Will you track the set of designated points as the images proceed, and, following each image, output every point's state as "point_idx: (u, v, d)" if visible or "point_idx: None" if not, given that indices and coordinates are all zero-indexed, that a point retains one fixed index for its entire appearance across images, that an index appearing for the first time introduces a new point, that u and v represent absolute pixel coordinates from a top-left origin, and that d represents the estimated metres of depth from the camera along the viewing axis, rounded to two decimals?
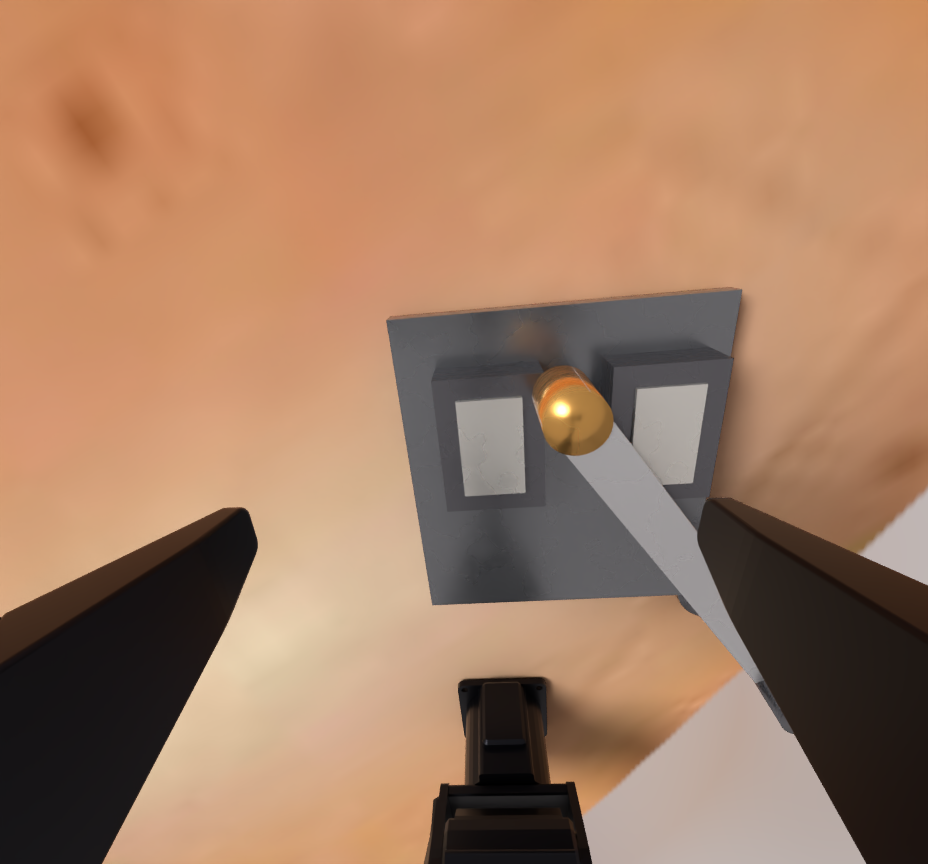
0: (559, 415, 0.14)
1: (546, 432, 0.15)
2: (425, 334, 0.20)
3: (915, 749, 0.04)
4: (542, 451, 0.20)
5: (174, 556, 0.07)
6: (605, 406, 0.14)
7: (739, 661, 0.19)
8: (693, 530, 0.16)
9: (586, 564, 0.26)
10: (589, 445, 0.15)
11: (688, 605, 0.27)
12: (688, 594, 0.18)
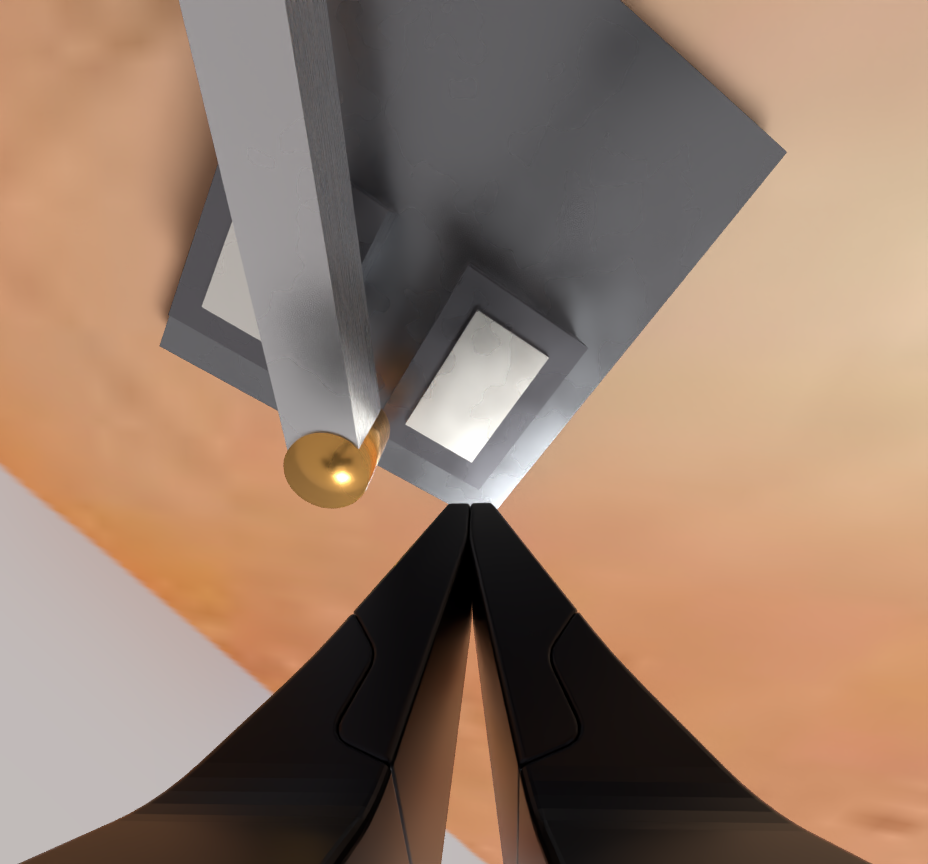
0: (340, 493, 0.12)
1: (363, 485, 0.12)
2: (463, 495, 0.20)
3: (498, 746, 0.05)
4: (423, 347, 0.15)
5: (458, 552, 0.06)
6: (288, 473, 0.12)
7: None
8: (233, 214, 0.09)
9: (497, 44, 0.13)
10: (326, 441, 0.12)
11: None
12: (280, 43, 0.08)
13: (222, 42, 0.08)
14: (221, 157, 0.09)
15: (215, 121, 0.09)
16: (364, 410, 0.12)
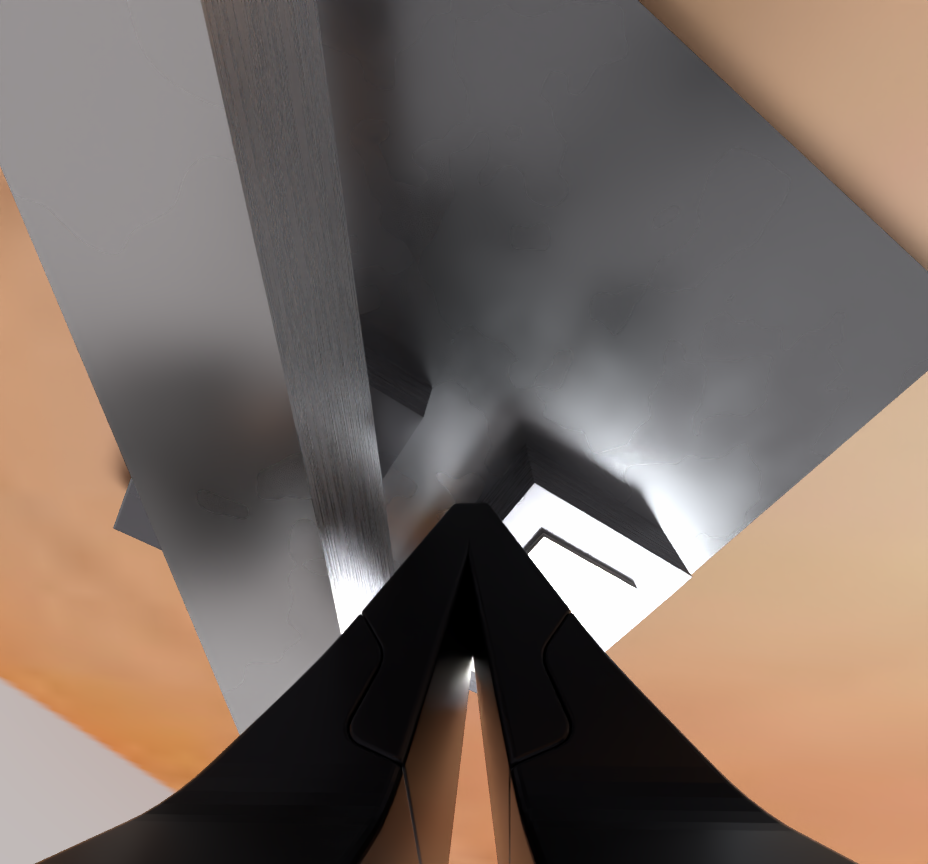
0: None
1: None
2: None
3: (492, 746, 0.05)
4: None
5: (464, 552, 0.06)
6: None
7: None
8: (177, 573, 0.05)
9: (584, 181, 0.09)
10: None
11: None
12: (255, 344, 0.04)
13: (139, 339, 0.04)
14: (150, 502, 0.05)
15: (134, 456, 0.05)
16: None
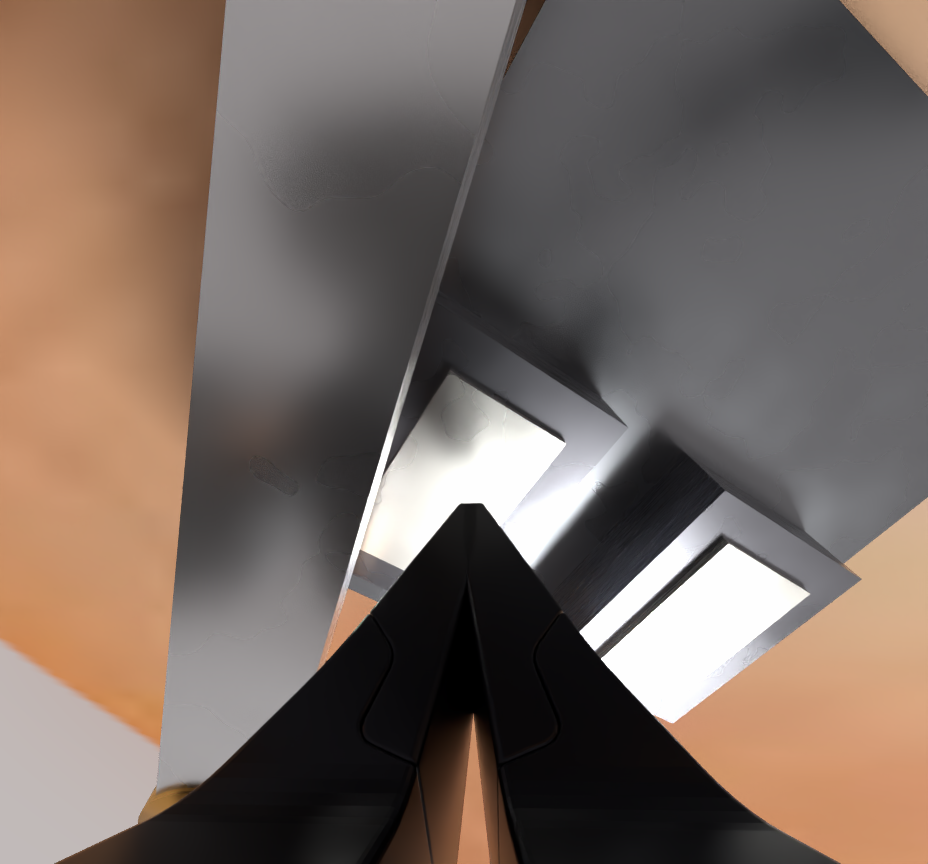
0: None
1: None
2: None
3: (482, 745, 0.05)
4: (639, 580, 0.11)
5: (471, 552, 0.06)
6: None
7: None
8: (185, 526, 0.05)
9: (783, 196, 0.09)
10: None
11: None
12: (390, 344, 0.04)
13: (274, 295, 0.04)
14: (196, 449, 0.05)
15: (206, 402, 0.04)
16: None
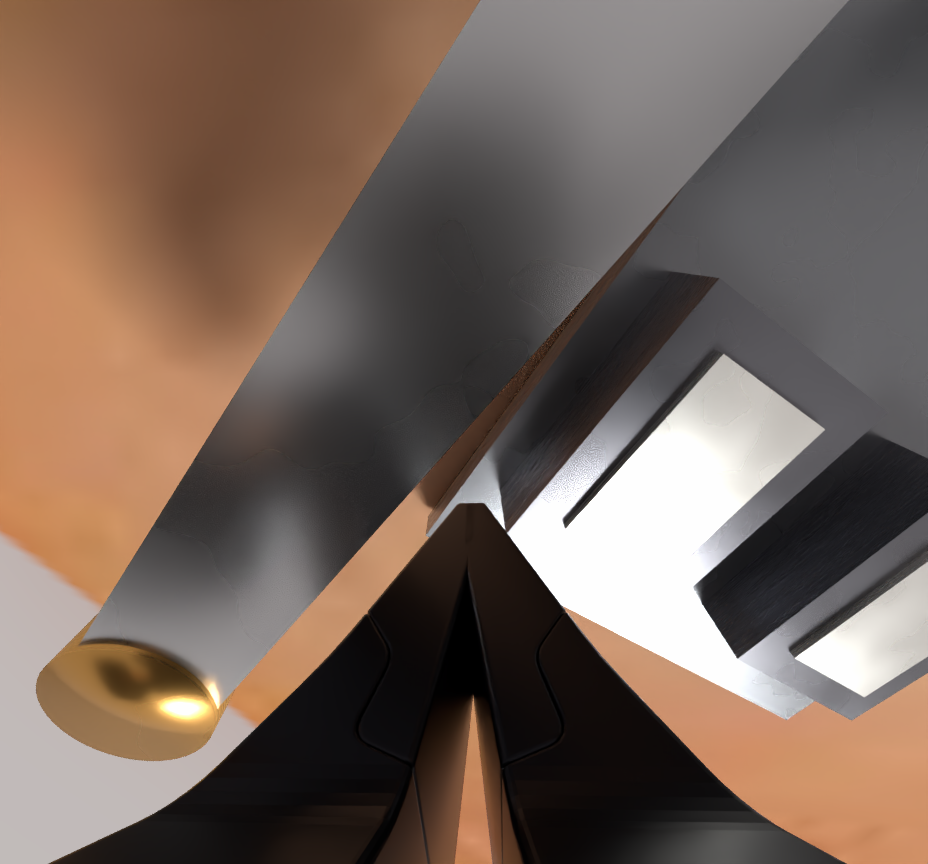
0: (128, 741, 0.06)
1: (181, 751, 0.06)
2: (771, 691, 0.16)
3: (485, 745, 0.05)
4: (857, 572, 0.11)
5: (469, 552, 0.06)
6: (49, 675, 0.06)
7: None
8: (312, 286, 0.04)
9: None
10: (169, 672, 0.06)
11: None
12: (694, 132, 0.03)
13: None
14: (384, 180, 0.03)
15: (438, 113, 0.03)
16: None
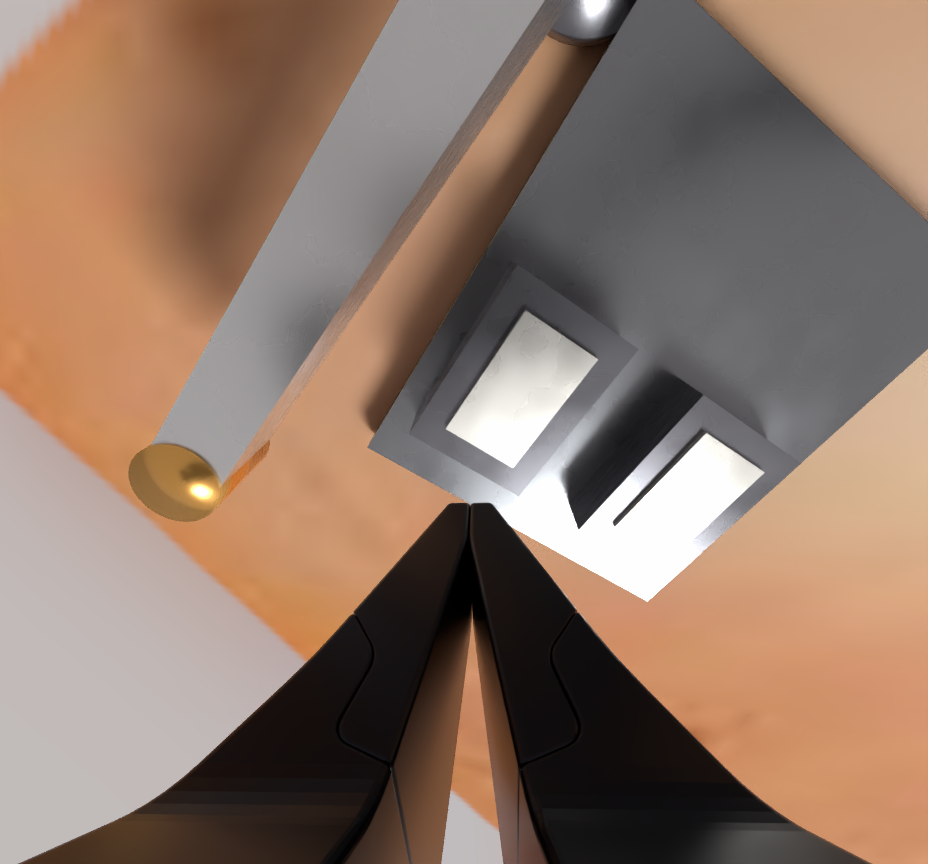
0: (173, 507, 0.12)
1: (200, 515, 0.12)
2: (632, 576, 0.21)
3: (498, 746, 0.05)
4: (645, 462, 0.16)
5: (458, 552, 0.06)
6: (136, 462, 0.11)
7: None
8: (257, 262, 0.09)
9: (743, 197, 0.14)
10: (195, 463, 0.11)
11: None
12: (396, 203, 0.09)
13: (352, 158, 0.08)
14: (282, 220, 0.09)
15: (299, 197, 0.09)
16: (251, 451, 0.13)
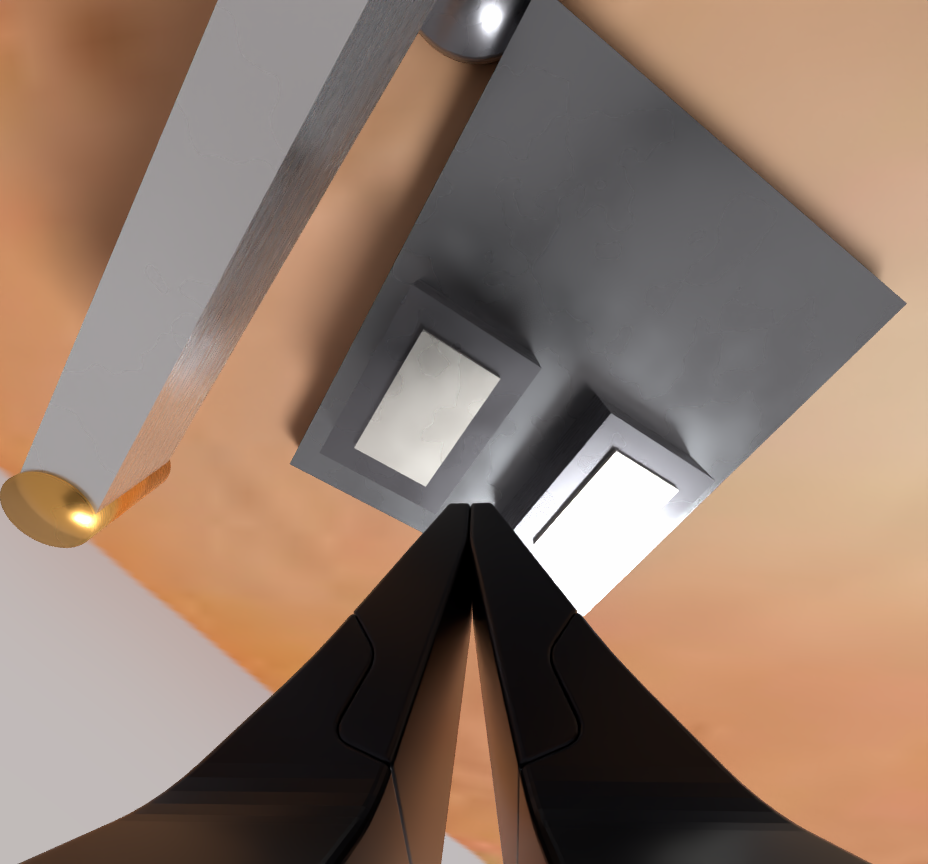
0: (50, 533, 0.12)
1: (79, 541, 0.12)
2: (566, 591, 0.21)
3: (498, 746, 0.05)
4: (559, 480, 0.16)
5: (458, 552, 0.06)
6: (6, 489, 0.11)
7: None
8: (100, 291, 0.09)
9: (644, 215, 0.14)
10: (67, 490, 0.11)
11: None
12: (231, 232, 0.09)
13: (181, 188, 0.08)
14: (119, 250, 0.09)
15: (132, 226, 0.09)
16: (134, 475, 0.12)
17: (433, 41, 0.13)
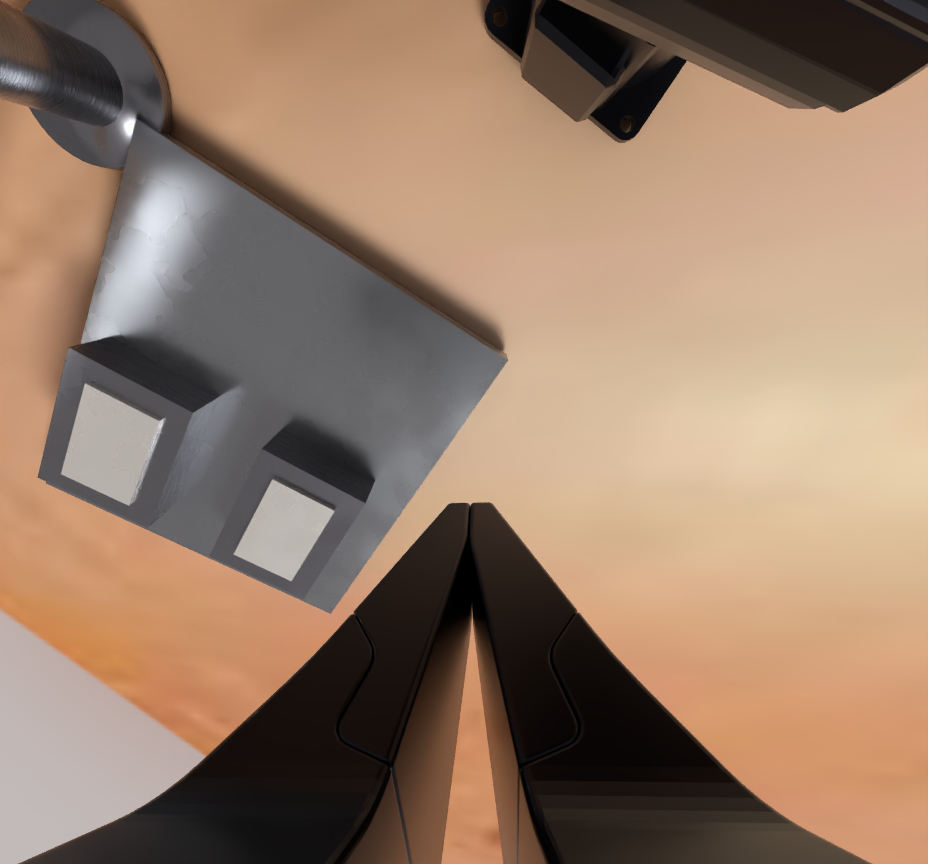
0: None
1: None
2: (308, 592, 0.24)
3: (498, 746, 0.05)
4: (238, 501, 0.19)
5: (458, 552, 0.06)
6: None
7: None
8: None
9: (273, 289, 0.17)
10: None
11: (146, 75, 0.15)
12: None
13: None
14: None
15: None
16: None
17: (75, 156, 0.16)
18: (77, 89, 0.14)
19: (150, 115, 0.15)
